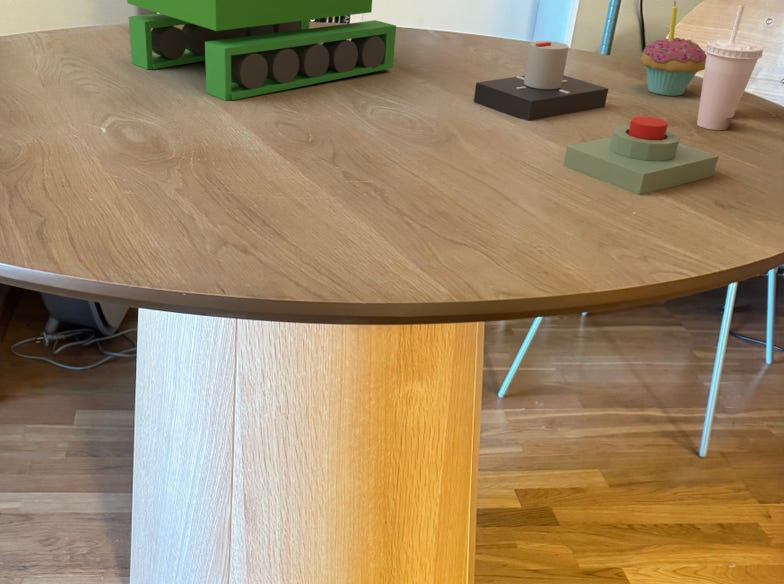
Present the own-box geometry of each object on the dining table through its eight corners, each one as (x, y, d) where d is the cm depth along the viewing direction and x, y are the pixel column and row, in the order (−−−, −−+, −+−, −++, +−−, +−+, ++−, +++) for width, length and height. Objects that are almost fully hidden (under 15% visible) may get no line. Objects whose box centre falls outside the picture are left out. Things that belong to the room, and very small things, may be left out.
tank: (420, 67, 130) (432, -54, 122) (227, 101, 111) (225, -40, 103) (315, 37, 146) (319, -71, 138) (130, 62, 127) (121, -62, 118)
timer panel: (548, 89, 122) (551, 70, 121) (604, 107, 115) (609, 87, 114) (473, 101, 115) (476, 81, 114) (528, 121, 108) (532, 99, 107)
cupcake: (659, 100, 119) (682, 6, 113) (621, 85, 126) (641, -5, 119) (710, 97, 121) (736, 5, 115) (670, 82, 128) (692, -6, 122)
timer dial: (540, 78, 117) (547, 36, 114) (569, 86, 113) (577, 44, 111) (515, 83, 114) (522, 40, 111) (544, 91, 111) (552, 47, 108)
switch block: (636, 149, 100) (644, 114, 98) (712, 176, 93) (723, 139, 91) (563, 165, 94) (570, 128, 92) (638, 195, 87) (648, 156, 85)
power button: (642, 130, 94) (646, 114, 93) (671, 140, 91) (675, 123, 90) (620, 135, 92) (624, 118, 91) (648, 144, 89) (652, 127, 89)
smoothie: (704, 115, 113) (736, -1, 106) (750, 128, 109) (787, 8, 101) (675, 122, 110) (706, 3, 102) (721, 136, 106) (757, 12, 98)
